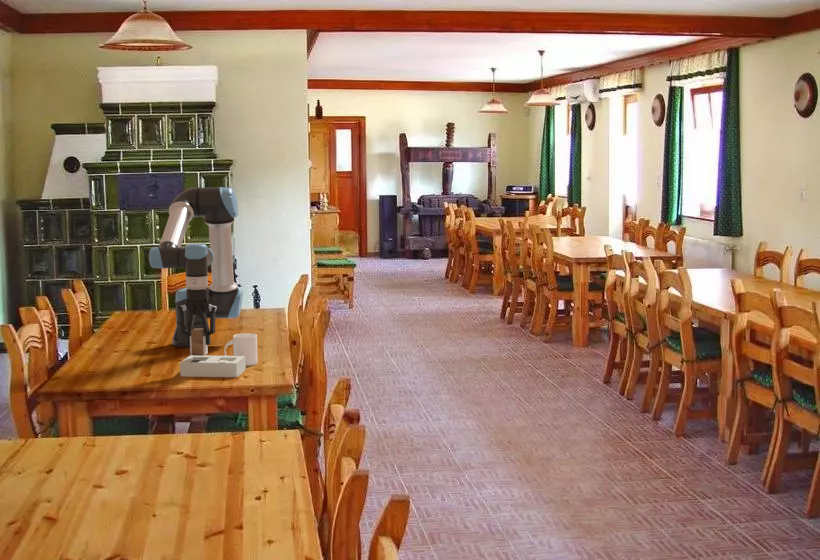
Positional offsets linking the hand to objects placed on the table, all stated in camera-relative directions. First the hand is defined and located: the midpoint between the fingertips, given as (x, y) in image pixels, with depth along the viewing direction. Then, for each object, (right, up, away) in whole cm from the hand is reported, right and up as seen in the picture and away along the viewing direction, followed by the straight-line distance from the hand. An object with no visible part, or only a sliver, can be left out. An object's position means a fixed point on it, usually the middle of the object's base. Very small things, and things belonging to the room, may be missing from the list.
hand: (199, 353), depth 337 cm
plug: (0, 0, 0) cm, 0 cm away
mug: (+12, -5, +15) cm, 20 cm away
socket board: (+5, -7, +1) cm, 9 cm away
